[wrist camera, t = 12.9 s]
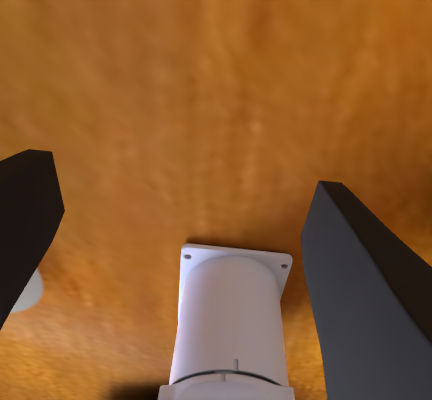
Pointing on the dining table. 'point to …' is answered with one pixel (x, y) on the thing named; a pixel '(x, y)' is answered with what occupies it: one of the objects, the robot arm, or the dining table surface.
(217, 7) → the dining table surface
